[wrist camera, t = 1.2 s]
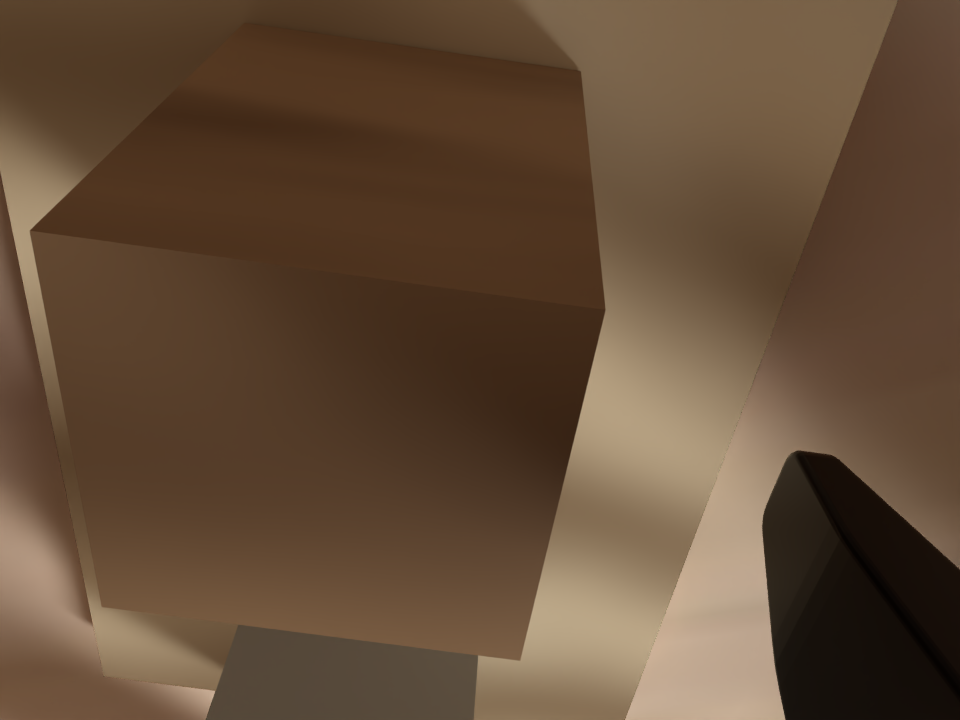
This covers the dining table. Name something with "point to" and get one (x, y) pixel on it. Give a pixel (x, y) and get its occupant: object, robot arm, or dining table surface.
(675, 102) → the board
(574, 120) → the walnut block
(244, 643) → the slate block
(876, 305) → the dining table surface
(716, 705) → the dining table surface
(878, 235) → the dining table surface
